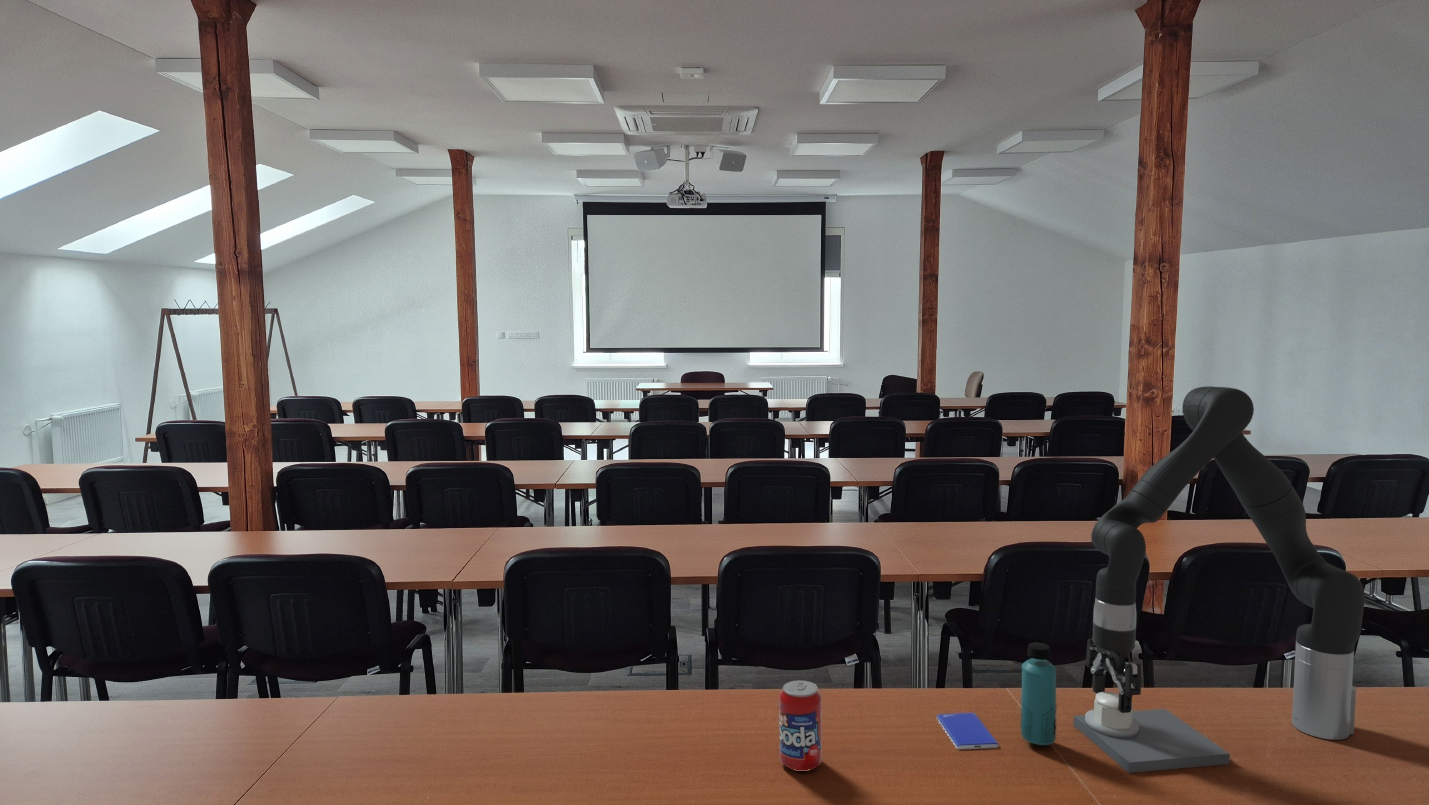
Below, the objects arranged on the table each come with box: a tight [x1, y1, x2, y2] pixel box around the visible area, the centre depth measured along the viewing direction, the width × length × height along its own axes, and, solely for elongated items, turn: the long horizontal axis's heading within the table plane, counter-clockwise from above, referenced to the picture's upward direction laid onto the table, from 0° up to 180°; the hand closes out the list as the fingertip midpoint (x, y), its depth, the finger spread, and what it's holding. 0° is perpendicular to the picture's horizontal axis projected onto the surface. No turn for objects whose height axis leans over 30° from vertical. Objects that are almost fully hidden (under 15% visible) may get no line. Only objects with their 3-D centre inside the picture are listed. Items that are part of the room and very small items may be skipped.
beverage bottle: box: [1019, 642, 1058, 746], centre depth 159 cm, size 6×7×20 cm
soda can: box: [778, 679, 823, 770], centre depth 153 cm, size 8×8×15 cm
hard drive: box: [935, 712, 999, 750], centre depth 165 cm, size 2×8×12 cm
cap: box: [1093, 691, 1134, 729], centre depth 162 cm, size 6×6×4 cm
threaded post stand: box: [1073, 708, 1231, 774], centre depth 159 cm, size 20×18×6 cm
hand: (1111, 701), depth 162 cm, fingers open, 8 cm apart
